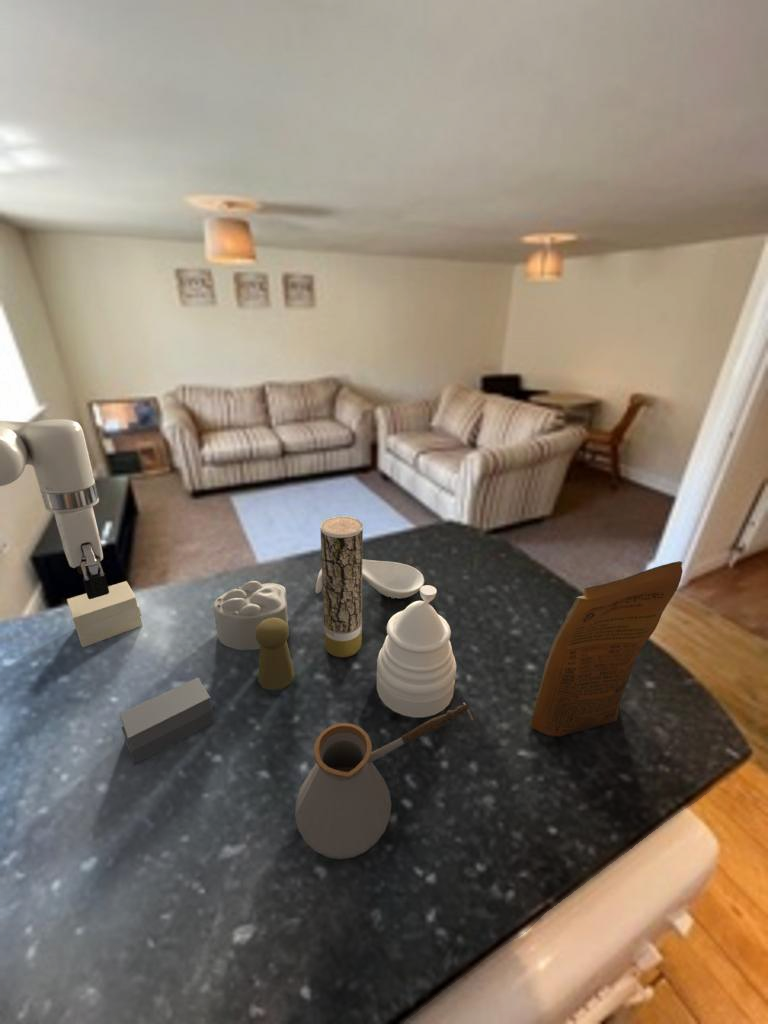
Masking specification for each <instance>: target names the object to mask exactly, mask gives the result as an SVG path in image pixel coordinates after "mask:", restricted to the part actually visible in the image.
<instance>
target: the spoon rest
mask: <svg viewBox="0 0 768 1024" xmlns="http://www.w3.org/2000/svg"><path fill="white" fill-rule="evenodd" d="M362 579H364V580H365V581H366V582H367V583H368V584H369V585H370V586H371V587H372V588H373V589H375V591H377V592H378V593H379V594H381V595H383V596H384V597H387V598H389V597H391V598H390V599H395V598H397V599H407V598H409V597H412V596H414V595H415V594H417V593H418V592H420V588H421V587H422V586H424V585H425V578H424V575H423V573H422V572H421V571H420V570H418V569H417V568H415V567H413V566H411V565H408V564H405V563H401V562H395V561H385V560H372V559H363V558H362ZM314 589H315V590H314V591H315V593H316V594H320V593H321V591H322V590H323V587H322V568H321V569H320V570H319V572H318V575H317V579H316V583H315V588H314Z"/></svg>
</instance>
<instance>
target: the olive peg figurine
mask: <svg viewBox="0 0 768 1024" xmlns="http://www.w3.org/2000/svg"><path fill="white" fill-rule="evenodd" d="M288 635H290V629H289V624H288V625H287V624H286V622H285V621H284V620H282V619H280V618H268V619H265V620H263V621H262V622H261V623H260V624H259V625H258V626H257V629H256V640H257V642H258V643H259V645H260V649H259V657H258V672H257V673H258V675H257V681H258V683H259V685H260V687H262V688H263V689H266V690H269V691H278V690H283V689H285V688H286V687H288V686H289V685H290V684H291V683H292V682H293V681H294V679H295V674H296V673H295V669H294V666H293V661H292V656H291V653H290V649H289V644H288V641H287V640H288V639H289V636H288Z"/></svg>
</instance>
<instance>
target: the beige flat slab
mask: <svg viewBox="0 0 768 1024" xmlns="http://www.w3.org/2000/svg"><path fill="white" fill-rule="evenodd" d="M108 589H109V593H108V594H106V595H103V596H100V597H96V598H93V599H88V597H87V593H86V592H85V593H83V594H80V595H76V596H73V597H70V598H67V599H66V603H67V605H68V609H69V611H70V615H71V618H72V621H73V624H74V627H75V629H76V628H78V627H81V626H84V625H87V624H90V623H93V622H96V621H98V620H101V619H104V618H107V617H110V616H113V615H116V614H119V613H122V612H125V611H128V610H131V609H133V608H136V607H138V605H139V604H138V605H137V603H138V602H137V598H136V596H135V594H134V592H133V589H132V588H131V586H130V584H129V583H128V581H127V580H125V581H122V582H118V583H116V584H112V585H108Z"/></svg>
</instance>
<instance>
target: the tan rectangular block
mask: <svg viewBox="0 0 768 1024" xmlns="http://www.w3.org/2000/svg"><path fill="white" fill-rule="evenodd" d="M137 605H138V607H136V608H133V609H131V610H128V611H125V612H122V613H119V614H116V615H113V616H110V617H107V618H104V619H101V620H98V621H96V622H93V623H90V624H87V625H84V626H81V627H78V628H76V627H75V631H76V633H77V636H78V639H79V642H80V645H81V648H83V649H84V648H85V647H89V646H92V645H94V644H97V643H99V642H102V641H105V640H108V639H111V638H114V637H116V636H119V635H121V634H124V633H127V632H129V631H132V630H135V629H137V627H138V628H140V627H142V625H143V620H142V612H141V607H140V606H139V605H140V604H139V603H138V602H137Z"/></svg>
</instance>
